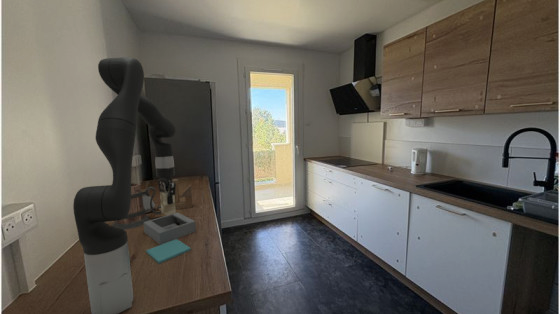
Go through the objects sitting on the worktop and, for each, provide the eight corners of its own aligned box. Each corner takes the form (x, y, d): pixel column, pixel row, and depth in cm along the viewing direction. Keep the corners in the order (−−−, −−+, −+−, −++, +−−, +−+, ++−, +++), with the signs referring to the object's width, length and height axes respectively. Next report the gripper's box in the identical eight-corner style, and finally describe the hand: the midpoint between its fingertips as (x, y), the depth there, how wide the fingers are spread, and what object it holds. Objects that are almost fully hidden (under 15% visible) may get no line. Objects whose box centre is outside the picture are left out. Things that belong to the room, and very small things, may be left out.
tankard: (107, 232, 107) (103, 191, 104) (114, 220, 122) (110, 183, 119) (163, 222, 117) (160, 184, 115) (163, 212, 132) (160, 178, 130)
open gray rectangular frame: (195, 231, 106) (195, 221, 106) (160, 244, 94) (159, 233, 94) (178, 221, 118) (177, 212, 118) (144, 232, 106) (143, 222, 106)
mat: (190, 249, 90) (190, 248, 90) (158, 263, 81) (158, 261, 81) (176, 240, 98) (176, 238, 98) (146, 252, 89) (146, 250, 89)
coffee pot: (154, 213, 131) (151, 188, 129) (131, 216, 127) (128, 190, 125) (159, 202, 151) (158, 180, 149) (140, 204, 147) (137, 182, 145)
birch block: (175, 212, 105) (174, 191, 104) (165, 215, 102) (164, 193, 101) (171, 210, 108) (169, 189, 107) (161, 213, 105) (159, 192, 104)
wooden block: (192, 207, 140) (190, 178, 138) (173, 210, 136) (171, 180, 134) (192, 205, 143) (190, 177, 141) (173, 208, 139) (171, 179, 137)
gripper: (150, 166, 104) (153, 202, 106) (163, 168, 95) (166, 208, 97) (166, 164, 110) (169, 198, 112) (180, 166, 101) (183, 203, 103)
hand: (167, 202), depth 104 cm, fingers closed on birch block, 4 cm apart
